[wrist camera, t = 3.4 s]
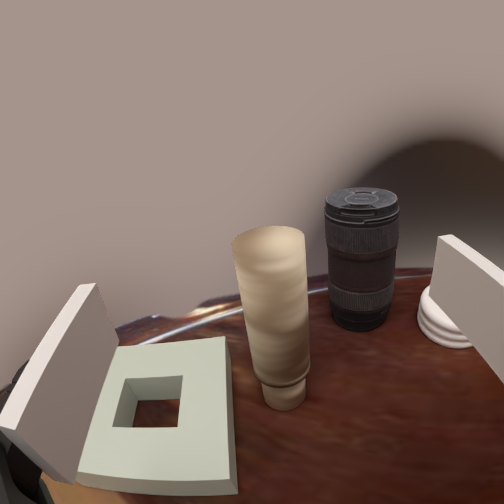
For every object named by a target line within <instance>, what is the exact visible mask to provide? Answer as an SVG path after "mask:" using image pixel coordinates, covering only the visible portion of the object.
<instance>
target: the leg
mask: <svg viewBox="0 0 504 504" xmlns="http://www.w3.org/2000/svg"><path fill="white" fill-rule="evenodd" d="M232 250H233V256H234V261H235V267H236V273H237V278H238V284H239V290H240V295H241V301H242V306H243V312H244V317H245V323H246V328H247V334H248V339H249V345H250V350H251V355H252V361H253V369H254V374H255V376H256V378H257V379H258V380H259V381H260V382H261V384H262V390H263V395H264V400H265V402H266V404H267V405H268V406H269V407H271V408H273V409H275V410H280V411H287V410H291V409H294V408H296V407H298V406H299V405H300V404H301V403H302V402H303V401H304V399H305V396H306V382H305V378H306V376H307V375H308V373H309V371H310V355H309V318H308V293H307V273H306V256H305V240H304V234H303V233H302V232H301V231H300V230H298V229H295V228H292V227H287V226H266V227H259V228H255V229H252V230H249V231H246V232H244V233H242V234H240V235H238V236H237V237H236V238H235V239H234V240H233V241H232Z"/></svg>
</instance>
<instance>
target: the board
mask: <svg viewBox="0 0 504 504" xmlns="http://www.w3.org/2000/svg"><path fill="white" fill-rule="evenodd" d="M166 399H180V409H179V419H178V427H173V428H132V426H133V421H134V416H135V411H136V407H137V402H138V400H166ZM75 480H76V481H77V482H79V483H80V484H81V485H82V486H87V487H93V488H99V489H105V490H112V491H120V492H128V493H138V494H151V495H170V496H213V495H232V494H238V484H237V469H236V453H235V435H234V417H233V397H232V375H231V358H230V354H229V350H228V346H227V342H226V338H225V336H223V337H215V338H207V339H198V340H190V341H180V342H170V343H160V344H148V345H136V346H122V347H117V349H116V351H115V354H114V357H113V359H112V362H111V365H110V368H109V370H108V373H107V376H106V379H105V382H104V385H103V388H102V391H101V393H100V396H99V399H98V402H97V406H96V409H95V412H94V415H93V418H92V421H91V425H90V428H89V431H88V434H87V438H86V441H85V445H84V448H83V452H82V456H81V459H80V463H79V467H78V471H77V474H76V478H75Z"/></svg>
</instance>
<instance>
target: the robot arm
mask: <svg viewBox="0 0 504 504" xmlns="http://www.w3.org/2000/svg"><path fill="white" fill-rule="evenodd" d="M428 296H429V297H430V298H431V299H432V300H433V301H434V302H435V303H436V304H437V305H438V306H439V307H440V308H441V310H442V311H443V312H444V313H445V314H446V315H447V316H448V317H449V318H450V320H451V321H452V322H453V323H454V324H455V325H456V326H457V327H458V329H459V330H460V331H461V332H462V333H463V334H464V335H465V337H466V338H467V339H468V340H469V341H470V342H471V344H472V345H473V346H474V347H475V348H476V350H477V351H478V352H479V353H480V354H481V356H482V357H483V358H484V359H485V361H486V362H487V363H488V364H489V366H490V367H491V368H492V369H493V371H494V372H495V373H496V374H497V376H498V377H499V378H500V380H501V381H502V382H503V384H504V272H503V271H502V270H501V269H499V268H498V267H497V266H496V265H494V264H493V263H492V262H490V261H489V260H487V259H486V258H485V257H483V256H482V255H481V254H479V253H478V252H476V251H475V250H474V249H472V248H471V247H469V246H468V245H466V244H465V243H464V242H462V241H461V240H459V239H458V238H456V237H455V236H453V235H445V236H438V241H437V249H436V255H435V262H434V268H433V273H432V279H431V284H430V289H429V294H428ZM118 343H119V339H118V337H117V334H116V332H115V330H114V327H113V325H112V322H111V320H110V318H109V315H108V313H107V310H106V308H105V305H104V303H103V300H102V297H101V295H100V292H99V289H98V287H97V284H96V283H92V284H84V285H79V286H78V288H77V289H76V290H75V292H74V293H73V295H72V296H71V298H70V299H69V300H68V302H67V303H66V305H65V306H64V308H63V309H62V311H61V312H60V313H59V315H58V316H57V318H56V320H55V321H54V322H53V324H52V325H51V327H50V329H49V330H48V332H47V333H46V335H45V336H44V338H43V340H42V341H41V343H40V344H39V346H38V348H37V349H36V351H35V352H34V354H33V356H32V357H31V359H30V360H28V361H27V362H26V363H25V364H24V365H23V366H22V367H21V368H20V369H19V370H18V371H17V373H16V375H15V376H14V378H13V380H12V384H10V385H9V387H8V389H7V390H6V391H7V393H5V394H4V396H3V398H2V400H1V402H0V504H54V502H53V500H52V497H51V495H50V493H49V491H48V488H47V486H46V484H45V483H44V481H43V480H42V479H41V478H40V476H41V473H42V471H43V472H44V473H46V474H47V475H48V476H49V477H50V478H52V479H53V480H55V481H59V482H63V483H67V484H71V485H74V483H75V478H76V474H77V471H78V467H79V463H80V459H81V456H82V452H83V448H84V445H85V441H86V438H87V434H88V431H89V428H90V425H91V421H92V418H93V415H94V412H95V409H96V406H97V402H98V399H99V396H100V393H101V391H102V388H103V385H104V382H105V379H106V376H107V373H108V370H109V368H110V365H111V362H112V359H113V357H114V354H115V351H116V349H117V346H118Z"/></svg>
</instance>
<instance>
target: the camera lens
mask: <svg viewBox="0 0 504 504" xmlns="http://www.w3.org/2000/svg"><path fill="white" fill-rule="evenodd" d="M324 209H325V211H324V214H325V233H326V242H327V247H328V270H329V271H328V272H329V275H328V292H329V298H330V306H331V309H332V310H333V316H334V319H335V321H336V322H337V323H338V324H339V325H341V326H342V327H344V328H347V329H350V330H354V331H366V330H370V329H373V328H375V327H378V326H379V325H380V324H381V323H382V322H383V321H384V319H385V314H386V313H387V312H388V310H389V308H390V304H391V299H392V296H393V289H394V273H395V259H396V249H397V244H398V238H399V214H400V213H399V212H400V211H399V210H400V209H399V206H398V200H397V196H396V195H395V194H394V193H392V192H390V191H387V190H382V189H378V188H350V189H342V190H338V191H335V192H333V193H331V194H329V195H328V196H327V197H326V206H325V208H324Z"/></svg>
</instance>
